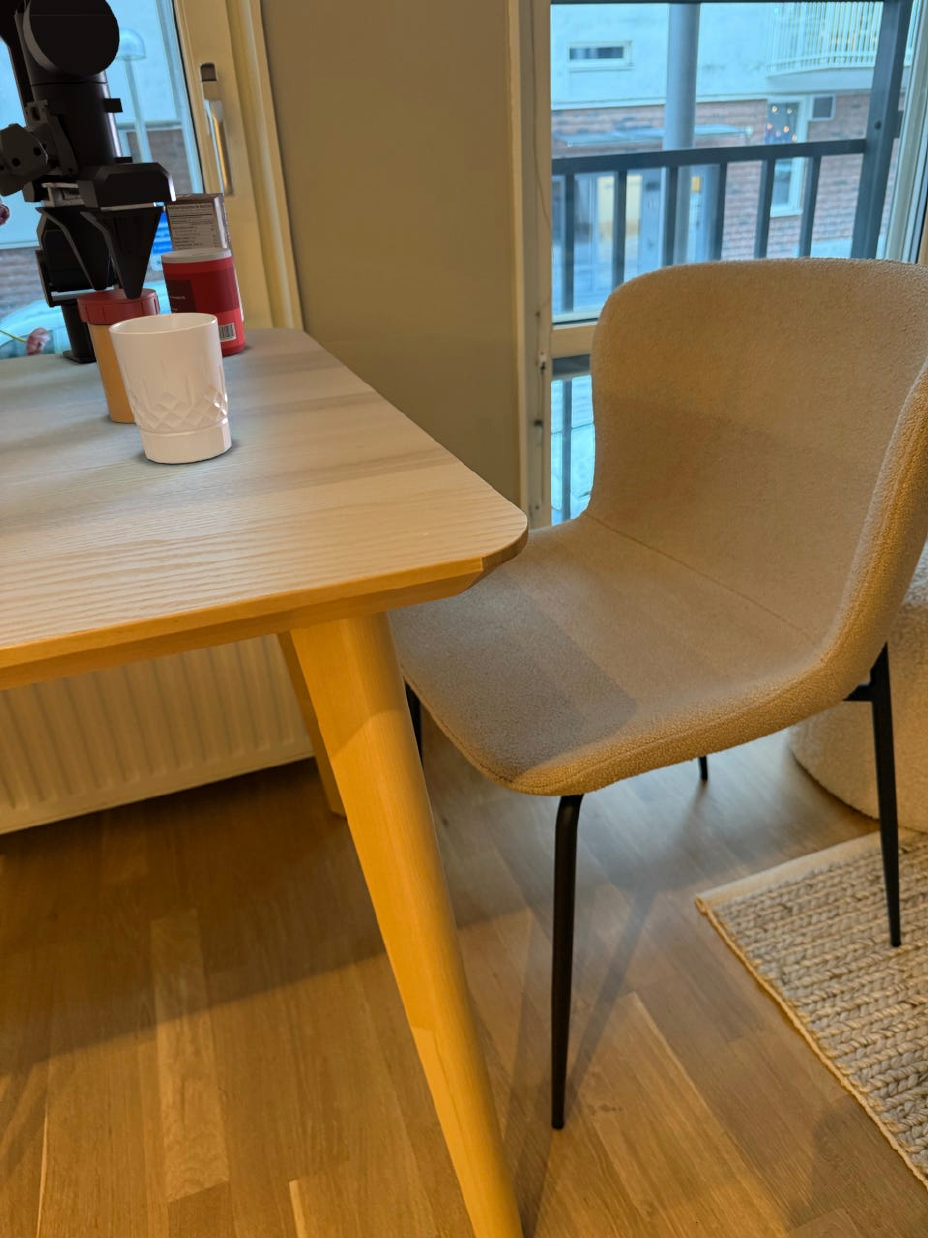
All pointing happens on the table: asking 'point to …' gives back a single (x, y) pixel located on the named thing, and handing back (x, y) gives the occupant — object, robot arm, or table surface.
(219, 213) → the coffee box
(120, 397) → the jar
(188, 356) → the white cup
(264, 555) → the table surface
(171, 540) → the table surface
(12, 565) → the table surface
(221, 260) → the canned food
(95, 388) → the table surface
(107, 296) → the lid
